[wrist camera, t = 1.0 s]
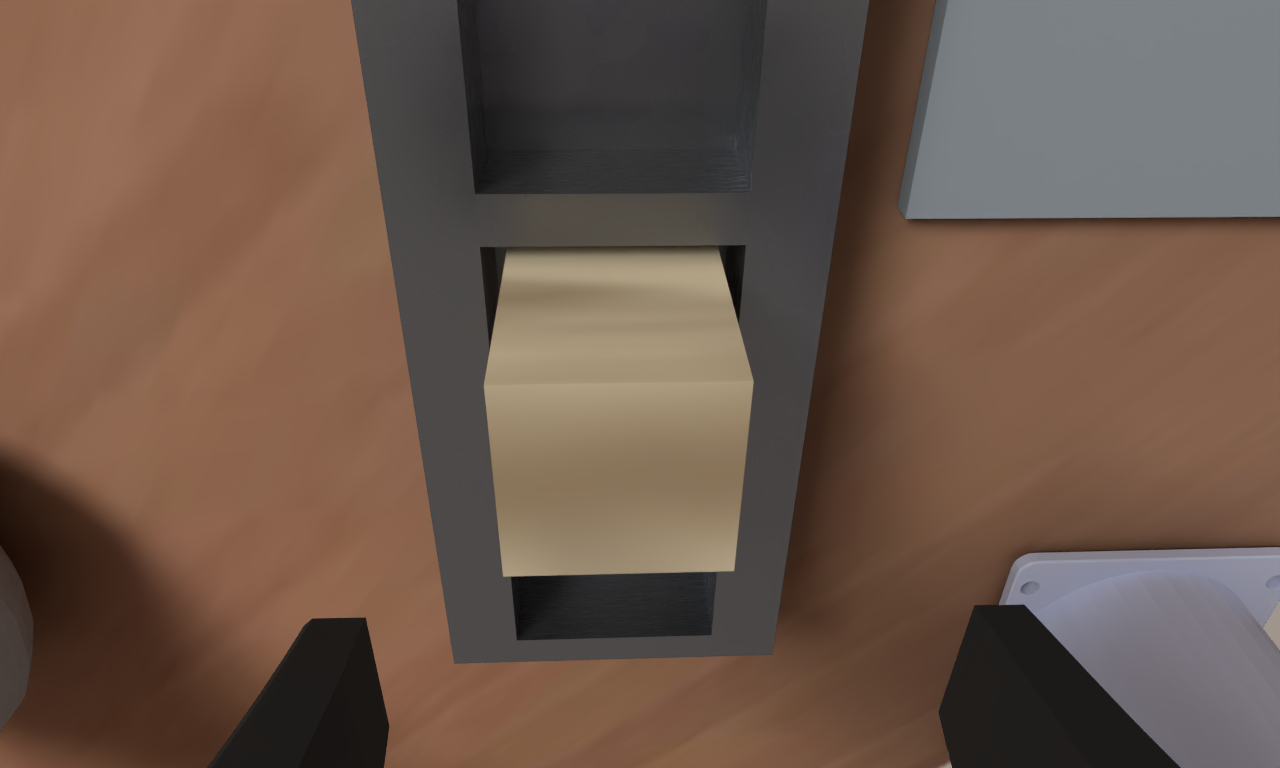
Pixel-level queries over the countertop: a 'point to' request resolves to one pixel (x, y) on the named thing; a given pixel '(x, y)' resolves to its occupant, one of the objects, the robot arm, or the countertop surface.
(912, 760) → the countertop surface
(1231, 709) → the robot arm
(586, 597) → the tray
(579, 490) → the peg
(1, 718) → the coffee pot
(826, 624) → the countertop surface
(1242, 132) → the mat
